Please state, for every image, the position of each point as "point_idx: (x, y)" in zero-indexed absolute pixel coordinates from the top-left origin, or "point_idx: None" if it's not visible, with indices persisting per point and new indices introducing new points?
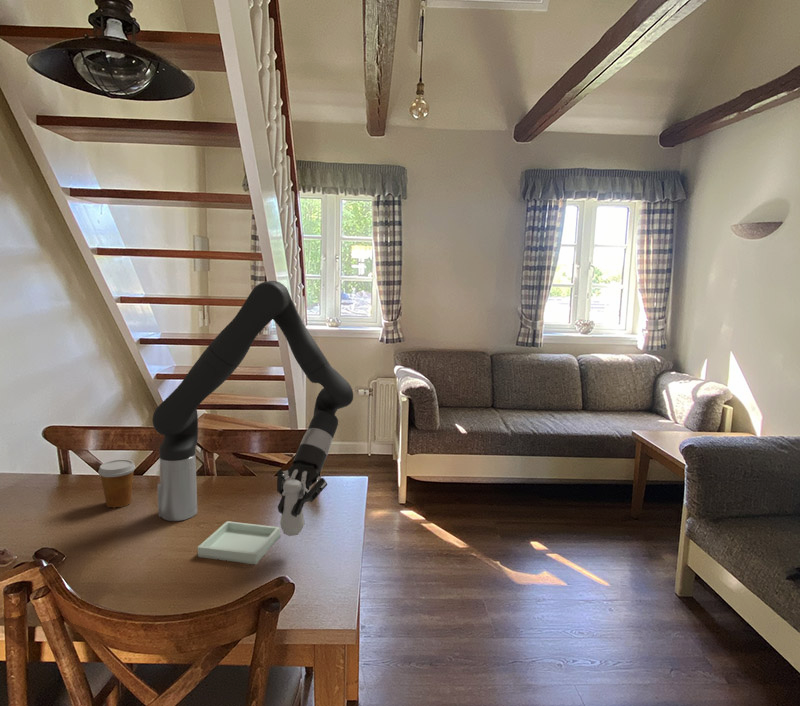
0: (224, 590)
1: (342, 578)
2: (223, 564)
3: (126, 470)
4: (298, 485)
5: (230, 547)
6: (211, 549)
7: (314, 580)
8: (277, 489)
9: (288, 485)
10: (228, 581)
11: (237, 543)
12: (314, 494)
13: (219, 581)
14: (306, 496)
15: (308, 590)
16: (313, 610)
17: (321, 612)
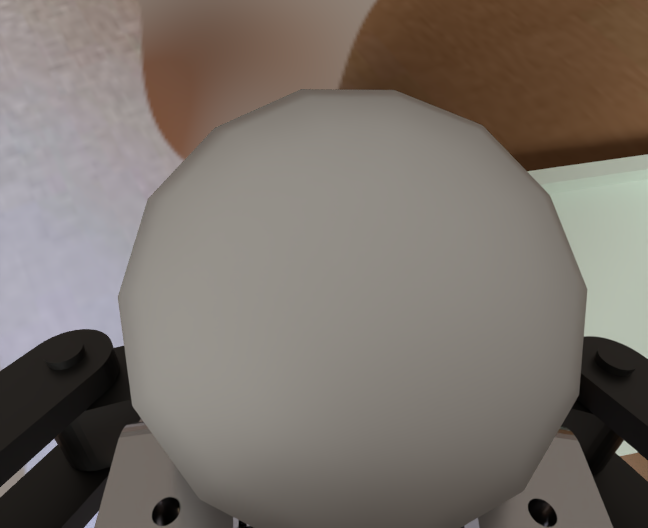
0: (405, 33)
1: (21, 242)
2: (526, 159)
3: None
4: (136, 242)
5: (592, 258)
6: (629, 157)
7: (129, 189)
8: (643, 361)
9: (347, 92)
10: (429, 78)
11: (592, 299)
12: (35, 513)
13: (458, 68)
14: (96, 341)
15: (124, 127)
16: (59, 39)
17: (28, 39)
